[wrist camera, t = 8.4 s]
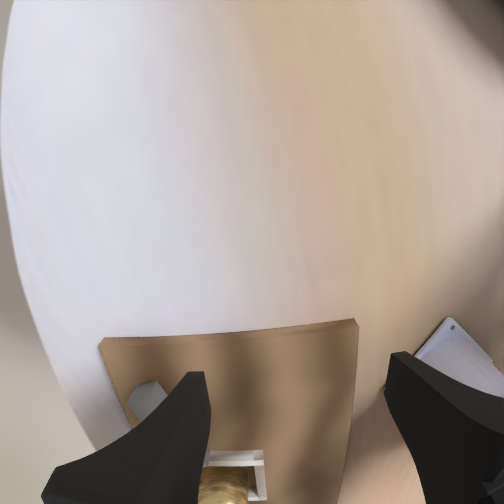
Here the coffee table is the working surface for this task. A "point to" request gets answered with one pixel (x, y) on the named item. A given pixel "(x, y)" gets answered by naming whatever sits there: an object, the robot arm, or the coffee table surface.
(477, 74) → the coffee table surface
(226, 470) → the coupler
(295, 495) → the tan wooden flat board
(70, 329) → the coffee table surface
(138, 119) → the coffee table surface
